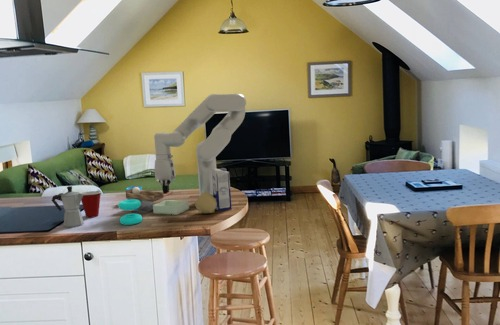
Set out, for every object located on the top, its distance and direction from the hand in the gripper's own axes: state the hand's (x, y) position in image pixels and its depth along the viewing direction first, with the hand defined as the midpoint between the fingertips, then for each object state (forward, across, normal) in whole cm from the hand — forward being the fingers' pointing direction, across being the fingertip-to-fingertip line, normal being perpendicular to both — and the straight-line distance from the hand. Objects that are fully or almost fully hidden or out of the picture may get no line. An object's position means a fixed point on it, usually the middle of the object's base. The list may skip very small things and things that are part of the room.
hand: (166, 192), depth 257 cm
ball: (-3, +10, +10) cm, 15 cm away
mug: (+7, +22, -4) cm, 23 cm away
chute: (+1, +6, +6) cm, 8 cm away
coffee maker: (+7, +24, +42) cm, 49 cm away
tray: (+7, -10, +10) cm, 15 cm away
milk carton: (+7, -32, 0) cm, 33 cm away
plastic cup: (+7, +26, +26) cm, 37 cm away
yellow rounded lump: (+7, -29, +10) cm, 32 cm away
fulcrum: (+7, +6, +10) cm, 14 cm away
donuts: (+7, -2, +32) cm, 33 cm away
